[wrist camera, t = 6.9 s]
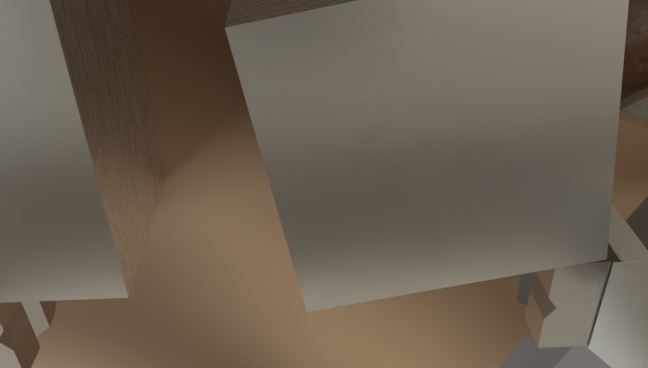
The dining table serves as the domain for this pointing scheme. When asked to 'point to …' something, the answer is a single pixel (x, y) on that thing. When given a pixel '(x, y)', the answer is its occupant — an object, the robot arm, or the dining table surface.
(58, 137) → the silver block
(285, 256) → the brown and grey tray
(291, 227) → the off-white small block
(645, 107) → the dining table surface
